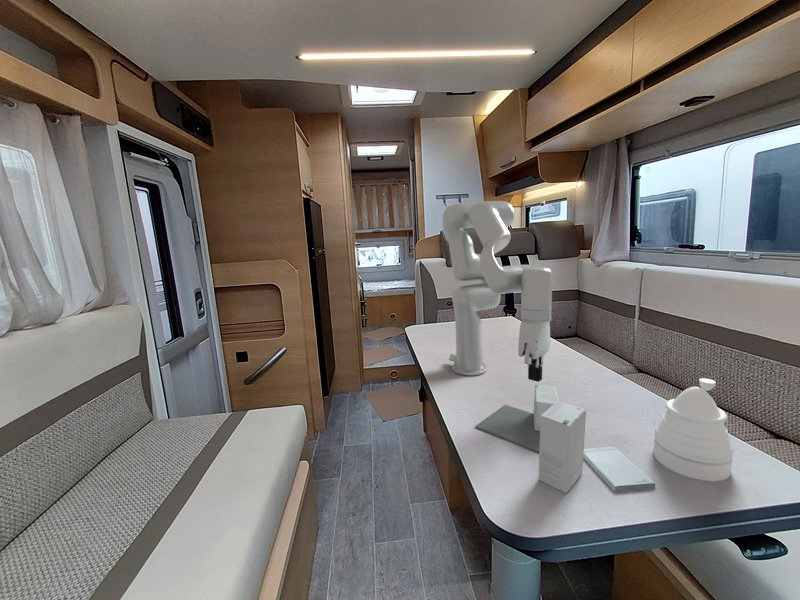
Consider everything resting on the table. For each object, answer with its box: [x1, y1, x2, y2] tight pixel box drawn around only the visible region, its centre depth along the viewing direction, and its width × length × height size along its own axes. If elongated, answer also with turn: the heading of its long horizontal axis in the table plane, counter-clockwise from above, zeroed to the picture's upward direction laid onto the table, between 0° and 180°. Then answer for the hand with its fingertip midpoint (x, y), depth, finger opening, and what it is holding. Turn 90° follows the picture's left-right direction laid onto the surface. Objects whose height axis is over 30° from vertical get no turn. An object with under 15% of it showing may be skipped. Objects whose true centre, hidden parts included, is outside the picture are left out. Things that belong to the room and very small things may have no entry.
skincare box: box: [538, 400, 587, 494], centre depth 72 cm, size 8×6×15 cm
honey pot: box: [652, 377, 734, 482], centre depth 75 cm, size 13×13×18 cm
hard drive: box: [583, 446, 656, 492], centre depth 75 cm, size 2×8×12 cm
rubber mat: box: [474, 404, 540, 454], centre depth 92 cm, size 20×16×1 cm
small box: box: [533, 384, 560, 431], centre depth 93 cm, size 8×6×10 cm
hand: (535, 379), depth 98 cm, fingers closed
